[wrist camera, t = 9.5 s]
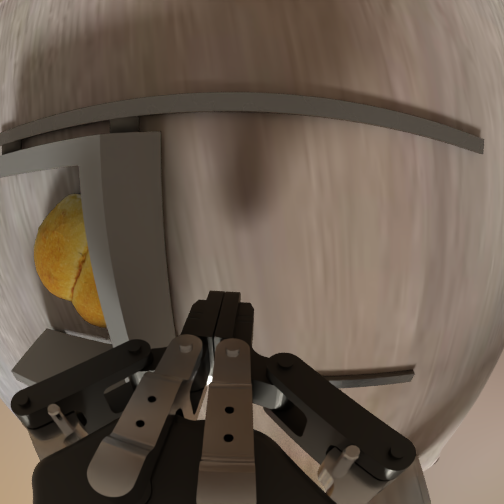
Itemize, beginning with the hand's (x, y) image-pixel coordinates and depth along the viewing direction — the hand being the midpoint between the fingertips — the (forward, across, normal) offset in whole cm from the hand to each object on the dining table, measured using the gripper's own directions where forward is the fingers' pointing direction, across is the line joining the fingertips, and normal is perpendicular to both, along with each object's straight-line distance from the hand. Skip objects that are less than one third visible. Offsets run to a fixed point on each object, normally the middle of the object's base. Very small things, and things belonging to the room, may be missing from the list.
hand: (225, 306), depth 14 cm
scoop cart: (+3, +11, 0) cm, 11 cm away
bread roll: (+4, +9, -1) cm, 10 cm away
